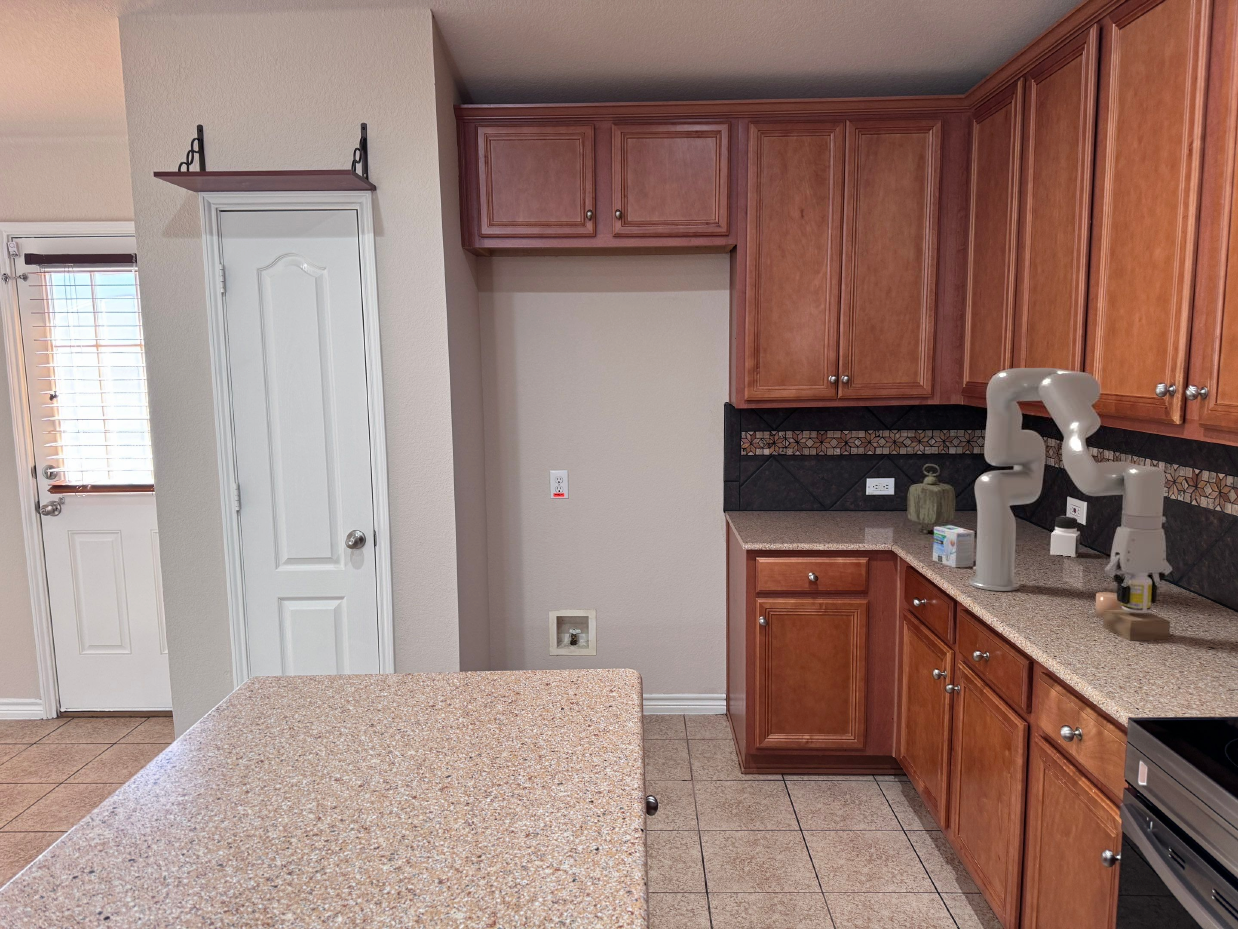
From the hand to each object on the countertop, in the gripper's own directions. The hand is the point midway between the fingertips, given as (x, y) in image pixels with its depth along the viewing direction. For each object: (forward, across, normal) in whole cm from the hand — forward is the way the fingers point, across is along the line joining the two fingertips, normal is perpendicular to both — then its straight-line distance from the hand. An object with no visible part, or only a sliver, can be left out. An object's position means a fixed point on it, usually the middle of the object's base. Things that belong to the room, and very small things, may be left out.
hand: (1136, 601), depth 183 cm
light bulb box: (+8, +9, -68) cm, 69 cm away
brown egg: (+7, -3, -13) cm, 15 cm away
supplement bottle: (+2, 0, 0) cm, 2 cm away
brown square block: (+7, 0, 0) cm, 7 cm away
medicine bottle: (+8, -31, -75) cm, 81 cm away
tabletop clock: (+8, -4, -113) cm, 113 cm away
